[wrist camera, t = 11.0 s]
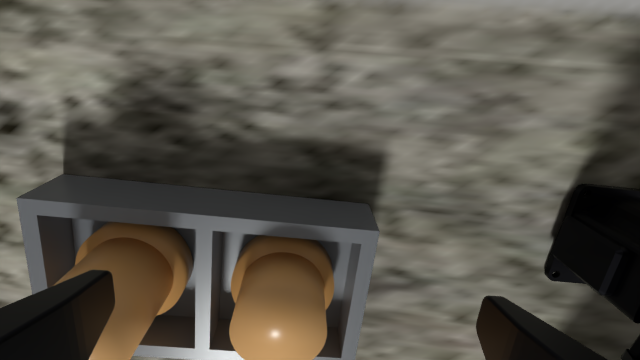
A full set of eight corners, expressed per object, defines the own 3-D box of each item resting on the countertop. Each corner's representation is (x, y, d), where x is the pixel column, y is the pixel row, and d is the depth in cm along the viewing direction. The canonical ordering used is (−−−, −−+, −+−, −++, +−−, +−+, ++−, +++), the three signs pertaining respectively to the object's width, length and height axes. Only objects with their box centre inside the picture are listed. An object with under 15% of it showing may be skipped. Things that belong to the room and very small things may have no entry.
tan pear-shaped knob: (191, 219, 21) (134, 299, 14) (193, 305, 22) (143, 411, 16) (85, 210, 20) (-25, 287, 14) (96, 298, 22) (4, 403, 16)
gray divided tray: (368, 203, 22) (390, 258, 16) (346, 327, 25) (358, 408, 19) (62, 174, 21) (-30, 221, 15) (78, 307, 24) (6, 389, 18)
